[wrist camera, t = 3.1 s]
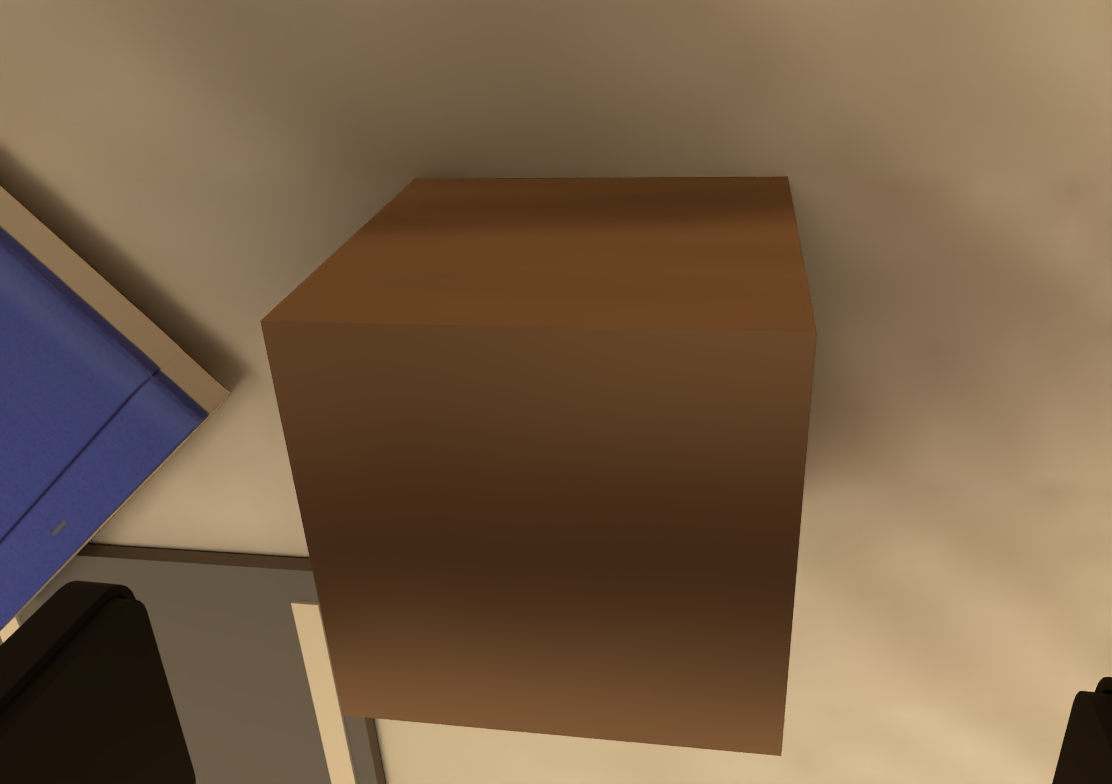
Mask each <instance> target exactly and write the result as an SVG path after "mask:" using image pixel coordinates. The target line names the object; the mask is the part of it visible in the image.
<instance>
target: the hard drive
mask: <svg viewBox="0 0 1112 784" xmlns="http://www.w3.org/2000/svg"><path fill="white" fill-rule="evenodd" d="M229 396H230V392H229V391H228V390H226V389H225V388H224V387H222V386H221V385H220V384H219V383H218V382H217V381H215V380H214V379H213V378H212V377H211V376H210V375H209V374H208V373H207V372H206V371H205V370H204V369H203V368H201V367H200V366H199V365H198V364H197V363H196V362H195V361H194V360H193V359H191V358H190V357H189V356H188V355H187V354H186V353H185V352H184V351H183V350H182V349H181V348H180V347H179V346H178V345H177V344H176V343H175V342H174V341H173V340H172V339H170V338H169V337H168V336H167V335H166V334H165V333H164V332H163V331H162V330H161V329H160V328H158V327H157V326H156V325H155V324H154V323H153V322H152V321H151V320H150V319H149V318H148V317H146V316H145V315H144V314H143V313H142V312H141V311H140V310H138V309H137V308H136V307H135V306H134V305H133V304H132V303H131V302H129V301H128V300H127V299H126V298H125V297H124V296H123V295H122V294H121V293H120V292H118V291H117V290H116V289H115V288H114V287H113V286H112V285H111V284H110V283H108V282H107V281H106V280H105V279H104V278H103V277H102V276H101V275H100V274H98V273H97V272H96V271H95V270H94V269H93V268H92V267H91V266H90V265H88V264H87V263H86V262H85V261H84V260H83V259H82V258H81V257H79V256H78V255H77V254H76V253H75V252H74V251H73V250H72V249H71V248H69V247H68V246H67V245H66V244H65V243H64V242H63V241H62V240H61V239H59V238H58V237H57V236H56V235H55V234H54V233H53V232H52V231H51V230H49V229H48V228H47V227H46V226H45V225H44V224H43V223H42V222H41V221H39V220H38V219H37V218H36V217H35V216H34V215H33V214H31V213H30V212H29V211H28V210H27V209H26V208H25V207H24V206H22V205H21V204H20V203H19V202H18V201H17V200H16V199H15V198H14V197H12V196H11V195H10V194H9V193H8V192H7V191H6V190H5V189H4V188H2V187H1V186H0V631H1V630H2V629H3V628H4V627H5V626H6V625H7V624H8V623H9V622H10V621H11V620H13V619H14V618H15V617H16V616H17V615H18V614H19V613H20V612H21V611H22V610H23V609H24V608H25V607H26V606H27V605H28V604H29V603H30V602H31V601H32V600H33V599H34V598H35V597H36V596H37V595H38V594H39V593H40V592H41V591H42V590H43V589H44V588H45V586H46V585H47V584H48V583H49V582H50V581H51V580H52V579H53V578H54V577H55V576H56V575H57V574H58V573H59V572H60V571H61V570H62V569H63V568H64V567H65V566H66V565H67V564H68V563H69V562H70V561H71V560H72V559H73V558H74V557H75V555H76V554H77V553H78V552H79V551H80V550H81V549H82V548H83V547H84V546H85V545H86V544H87V543H88V542H89V541H90V540H91V539H92V538H93V537H94V536H95V535H96V534H97V533H98V532H99V531H100V530H101V528H102V527H103V526H104V525H105V524H106V523H107V522H108V521H109V520H110V519H111V518H112V517H113V516H114V515H115V514H116V513H117V512H118V511H119V510H120V509H121V508H122V507H123V506H124V505H125V504H126V503H127V502H128V501H129V500H130V498H131V497H132V496H133V495H134V494H135V493H136V492H137V491H138V490H139V489H140V488H141V487H142V486H143V485H144V484H145V483H146V482H147V481H148V480H149V479H150V478H151V477H152V476H153V475H154V474H155V473H156V472H157V471H158V470H159V469H160V468H161V467H162V466H163V465H164V463H165V462H166V461H167V460H168V459H169V458H170V457H171V456H172V455H173V454H174V453H175V452H176V451H177V450H178V449H179V448H180V447H181V446H182V445H183V444H184V443H185V442H186V441H187V440H188V439H189V438H190V437H191V436H192V435H193V434H194V433H195V431H196V430H197V429H198V428H199V427H200V426H201V425H202V424H203V423H204V422H205V421H206V420H207V419H208V418H209V417H210V416H211V415H212V414H213V413H214V412H215V411H216V410H217V409H218V408H219V407H220V406H221V405H222V404H223V403H224V402H225V401H226V399H227V398H228V397H229Z"/></svg>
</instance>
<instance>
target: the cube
mask: <svg viewBox="0 0 1112 784" xmlns="http://www.w3.org/2000/svg"><path fill="white" fill-rule="evenodd" d="M261 326H262V330H263V335H264V340H265V345H266V350H267V355H268V359H269V364H270V369H271V374H272V379H273V383H274V388H275V393H276V398H277V403H278V407H279V412H280V417H281V422H282V427H283V431H284V436H285V441H286V446H287V451H288V456H289V460H290V465H291V470H292V475H293V480H294V484H295V489H296V494H297V499H298V504H299V508H300V513H301V518H302V523H303V528H304V532H305V537H306V542H307V547H308V552H309V557H310V561H311V566H312V571H313V576H314V581H315V585H316V590H317V595H318V600H319V605H320V609H321V614H322V619H323V624H324V629H325V634H326V638H327V643H328V648H329V653H330V658H331V662H332V667H333V672H334V677H335V682H336V686H337V691H338V696H339V701H340V706H341V710H342V715H347V716H357V717H368V718H379V719H390V720H401V721H411V722H422V723H433V724H444V725H454V726H465V727H476V728H487V729H497V730H508V731H519V732H530V733H541V734H551V735H562V736H573V737H584V738H594V739H605V740H616V741H627V742H637V743H648V744H659V745H670V746H681V747H691V748H702V749H713V750H724V751H734V752H745V753H756V754H767V755H778V756H781V752H782V740H783V728H784V716H785V704H786V692H787V680H788V668H789V656H790V644H791V632H792V620H793V608H794V596H795V584H796V572H797V560H798V548H799V536H800V524H801V512H802V500H803V488H804V476H805V464H806V452H807V440H808V428H809V416H810V404H811V392H812V380H813V368H814V356H815V344H816V328H815V322H814V317H813V311H812V306H811V301H810V295H809V290H808V284H807V279H806V274H805V268H804V263H803V257H802V252H801V246H800V241H799V236H798V230H797V225H796V219H795V214H794V209H793V203H792V198H791V192H790V187H789V182H788V177H651V178H476V179H414V180H413V181H412V182H411V183H410V184H409V185H408V186H407V187H406V188H405V189H404V190H402V191H401V192H400V193H399V194H398V195H397V196H396V197H395V198H394V199H393V200H392V201H390V202H389V203H388V204H387V205H386V206H385V207H384V208H383V209H382V210H381V211H380V212H379V213H377V214H376V215H375V216H374V217H373V218H372V219H371V220H370V221H369V222H368V223H367V224H365V225H364V226H363V227H362V228H361V229H360V230H359V231H358V232H357V233H356V234H355V235H354V236H352V237H351V238H350V239H349V240H348V241H347V242H346V243H345V244H344V245H343V246H342V247H340V248H339V249H338V250H337V251H336V252H335V253H334V254H333V255H332V256H331V257H330V258H328V259H327V260H326V261H325V262H324V263H323V264H322V265H321V266H320V267H319V268H318V269H317V270H315V271H314V272H313V273H312V274H311V275H310V276H309V277H308V278H307V279H306V280H305V281H303V282H302V283H301V284H300V285H299V286H298V287H297V288H296V289H295V290H294V291H293V292H292V293H290V294H289V295H288V296H287V297H286V298H285V299H284V300H283V301H282V302H281V303H280V304H278V305H277V306H276V307H275V308H274V309H273V310H272V311H271V312H270V313H269V314H268V315H266V316H265V317H264V318H263V319H262V320H261Z"/></svg>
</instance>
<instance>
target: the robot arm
mask: <svg viewBox="0 0 1112 784" xmlns="http://www.w3.org/2000/svg"><path fill="white" fill-rule="evenodd" d="M0 784H196V777H195V772H194V769H193V765H192V762H191V758H190V755H189V752H188V748H187V745H186V741H185V738H184V735H183V731H182V728H181V724H180V721H179V718H178V714H177V711H176V707H175V704H174V701H173V697H172V694H171V690H170V687H169V684H168V680H167V677H166V673H165V670H164V667H163V663H162V660H161V656H160V653H159V650H158V646H157V643H156V639H155V636H154V633H153V629H152V626H151V623H150V619H149V616H148V612H147V610H146V607H145V605H144V604H143V603H142V602H141V601H139V600H136V598H135V596H134V594H133V592H132V591H131V590H130V589H129V588H128V587H127V586H124V585H120V584H109V583H98V582H88V581H77V580H76V581H72V582H68V583H67V584H65V585H64V586H62V587H61V588H60V589H59V590H57V591H56V592H55V593H54V594H53V595H52V596H51V597H50V598H49V599H48V600H47V601H46V602H45V603H44V604H43V605H42V606H41V607H40V608H39V609H38V610H37V611H36V612H35V613H34V614H33V615H32V616H30V617H29V618H28V619H27V620H26V621H25V622H24V623H23V624H22V625H21V626H20V627H19V628H18V629H17V630H16V631H15V632H14V633H13V634H12V635H11V636H10V637H9V638H8V639H7V640H6V641H5V642H3V643H2V644H1V645H0ZM1052 784H1112V677H1103V678H1102V679H1101V680H1100V682H1099V683H1098V685H1097V688H1096V690H1095V692H1087V691H1079V692H1078V693H1077V695H1076V696H1075V699H1074V702H1073V705H1072V709H1071V713H1070V717H1069V721H1068V725H1067V729H1066V732H1065V736H1064V740H1063V744H1062V748H1061V752H1060V756H1059V760H1058V763H1057V767H1056V771H1055V775H1054V779H1053V783H1052Z"/></svg>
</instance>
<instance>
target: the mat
mask: <svg viewBox="0 0 1112 784" xmlns="http://www.w3.org/2000/svg"><path fill="white" fill-rule="evenodd" d="M76 580H77V581H88V582H98V583H109V584H120V585H124V586H127V587H128V588H129V589H130V590H131V591H132V592H133V594H134V596H135V598H136V600H139V601H141V602H142V603H143V604H144V605H145V607H146V610H147V612H148V616H149V619H150V623H151V626H152V629H153V633H154V636H155V639H156V643H157V646H158V650H159V653H160V656H161V660H162V663H163V667H164V670H165V673H166V677H167V680H168V684H169V687H170V690H171V694H172V697H173V701H174V704H175V707H176V711H177V714H178V718H179V721H180V724H181V728H182V731H183V735H184V738H185V741H186V745H187V748H188V752H189V755H190V758H191V762H192V765H193V769H194V772H195V777H196V784H385V779H384V773H383V768H382V763H381V757H380V752H379V747H378V741H377V736H376V731H375V725H374V720H373V718H368V717H357V716H347V715H342V710H341V706H340V701H339V696H338V691H337V686H336V682H335V677H334V672H333V667H332V662H331V658H330V653H329V648H328V643H327V638H326V634H325V629H324V624H323V619H322V614H321V609H320V605H319V600H318V595H317V590H316V585H315V581H314V576H313V571H312V566H311V561H310V559H307V558H291V557H276V556H261V555H245V554H230V553H214V552H199V551H183V550H168V549H152V548H137V547H121V546H106V545H91V544H86V545H85V546H84V547H83V548H82V549H81V550H80V551H79V552H78V553H77V554H76V555H75V557H74V558H73V559H72V560H71V561H70V562H69V563H68V564H67V565H66V566H65V567H64V568H63V569H62V570H61V571H60V572H59V573H58V574H57V575H56V576H55V577H54V578H53V579H52V580H51V581H50V582H49V583H48V584H47V585H46V586H45V588H44V589H43V590H42V591H41V592H40V593H39V594H38V595H37V596H36V597H35V598H34V599H33V600H32V601H31V602H30V603H29V604H28V605H27V606H26V607H25V608H24V609H23V610H22V611H21V612H20V613H19V614H18V615H17V616H16V617H15V618H14V619H13V620H11V621H10V622H9V623H8V624H7V625H6V626H5V627H4V628H3V629H2V630H1V631H0V645H1V644H2V643H3V642H5V641H6V640H7V639H8V638H9V637H10V636H11V635H12V634H13V633H14V632H15V631H16V630H17V629H18V628H19V627H20V626H21V625H22V624H23V623H24V622H25V621H26V620H27V619H28V618H29V617H30V616H32V615H33V614H34V613H35V612H36V611H37V610H38V609H39V608H40V607H41V606H42V605H43V604H44V603H45V602H46V601H47V600H48V599H49V598H50V597H51V596H52V595H53V594H54V593H55V592H56V591H57V590H59V589H60V588H61V587H62V586H64V585H65V584H67V583H68V582H72V581H76Z"/></svg>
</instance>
